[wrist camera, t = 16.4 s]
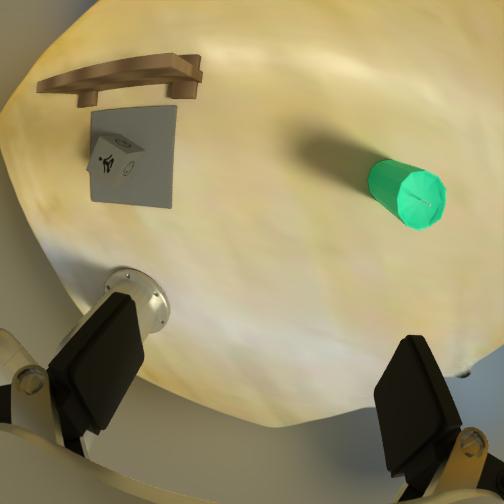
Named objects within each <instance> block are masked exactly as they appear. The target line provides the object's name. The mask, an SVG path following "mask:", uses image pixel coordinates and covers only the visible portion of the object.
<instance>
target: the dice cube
mask: <svg viewBox="0 0 504 504" xmlns="http://www.w3.org/2000/svg"><path fill="white" fill-rule="evenodd" d="M145 152H146V150H145V149H143V148H141V147H140V146H138V145H137V144H135V143H133V142H132V141H130V140H129V139H127V138H125V137H124V136H122V135H121V134H117V135H106V136H99V139H98V141H97V143H96V146H95V148H94V151H93V153H92V156H91V158H90V161H89V163H88V166H87V169H86V170H87V171H88V172H89V173H91V174H92V175H94V176H95V177H96V178H98V179H99V180H101V181H102V182H103V183H105V184H106V185H108V186H109V187H110V188H115V187H117V186H120V185H122V184H125V183H128V182H130V181H131V180H132V178H133V176H134V174H135V172H136V170H137V168H138V166H139V164H140V162H141V160H142V158H143V156H144V154H145Z"/></svg>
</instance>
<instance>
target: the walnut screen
mask: <svg viewBox="0 0 504 504" xmlns="http://www.w3.org/2000/svg"><path fill="white" fill-rule="evenodd" d="M200 61H201V56H200V55H198V54H195V55H178V56H177V55H176V54H174V53H164V54H155V55H147V56H140V57H133V58H127V59H122V60H116V61H111V62H106V63H102V64H97V65H93V66H89V67H85V68H81V69H77V70H74V71H70V72H67V73H64V74H60V75H57V76H54V77H51V78H48V79H45V80H42V81H40V82H38V83H37V91H36V93H65V94H79V100H78V108H84V107H90V106H97V98H98V91H104V90H110V89H117V88H125V87H133V86H143V85H154V84H169V83H172V92H171V98H172V99H196V95H197V86H198V83H202V75H203V72H202V71H201V70H199V69H200Z"/></svg>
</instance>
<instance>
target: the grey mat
mask: <svg viewBox="0 0 504 504" xmlns="http://www.w3.org/2000/svg"><path fill="white" fill-rule="evenodd" d="M176 114H177V106H153V107H136V108H124V109H113V110H104V111H96V112H92V120H91V145H90V158H91V156H92V153H93V151H94V148H95V146H96V143H97V141H98V139H99V136H106V135H117V134H121V135H122V136H124V137H125V138H127V139H129V140H130V141H132V142H133V143H135V144H137V145H138V146H140V147H141V148H143V149H145V150H146V152H145V154H144V156H143V158H142V160H141V162H140V164H139V166H138V168H137V170H136V172H135V174H134V176H133V178H132V180H131V181H130V182H128V183H125V184H122V185H120V186H117V187H115V188H110V187H109V186H108V185H106V184H105V183H103V182H102V181H101V180H99V179H98V178H96V177H95V176H94V175H92V174H91V198H92V201H93V202H105V203H117V204H128V205H138V206H148V207H158V208H168V209H171V208H172V182H173V158H174V141H175V127H176Z"/></svg>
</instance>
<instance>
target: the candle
mask: <svg viewBox="0 0 504 504" xmlns="http://www.w3.org/2000/svg"><path fill="white" fill-rule="evenodd" d="M368 185H369V191H370V193H371V194H372V195H373V197H374V198H375V199H376V200H377V201H378V202H379V203H380V204H381V205H383V206H384V207H385V208H386V209H388V210H389V211H390V212H391V213H392V214H393V215H395V216H396V217H397V218H398V219H399V220H400V221H402V222H403V223H404V224H405V225H406V226H408V227H411V228H413V229H416V230H418V231H419V230H422V229H425V228H427V227H430V226H431V225H433V224H434V223H436V222H437V221H438V220H440V219H441V218H442V215H443V211H444V208H445V204H446V188H445V187H444V185H443V183H442V182H441V180H440V179H439V177H438V176H436V175H434V174H432V173H430V172H428V171H426V170H423V169H420V168H417V167H414V166H411V165H408V164H404V163H401V162H398V161H394V160H391V159H390V160H384V161H379V162H378V163H377V164H376V165H375V166H374V167H373V168H372V169H371V171H370V174H369V177H368Z"/></svg>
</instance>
